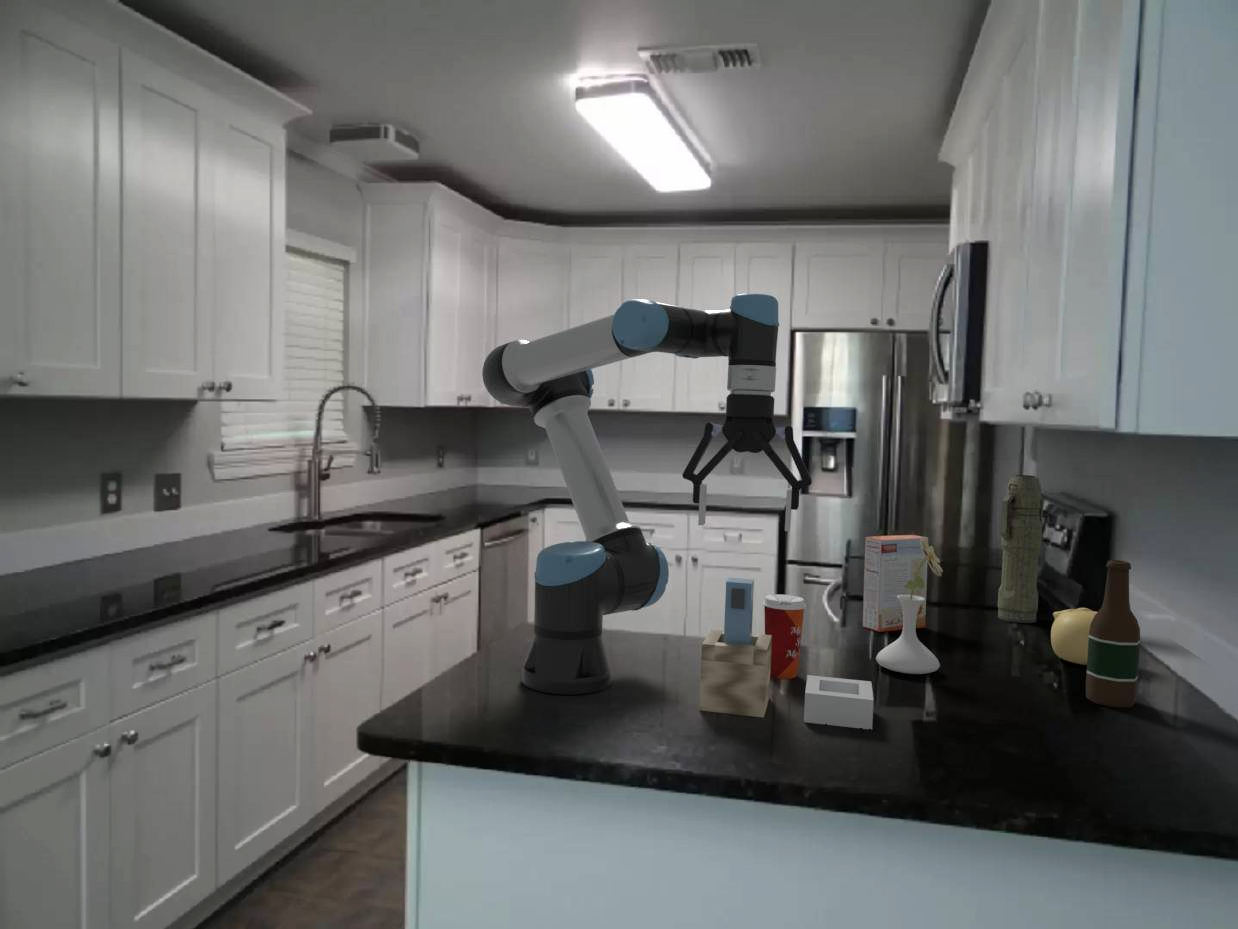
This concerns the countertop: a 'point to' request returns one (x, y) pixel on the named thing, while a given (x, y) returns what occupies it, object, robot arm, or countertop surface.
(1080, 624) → the sculpture
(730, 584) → the plug
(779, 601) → the paper cup
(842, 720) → the block
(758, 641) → the block
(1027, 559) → the thermos
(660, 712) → the countertop surface
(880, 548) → the cracker box
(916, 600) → the flower in vase
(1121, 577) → the beer bottle
